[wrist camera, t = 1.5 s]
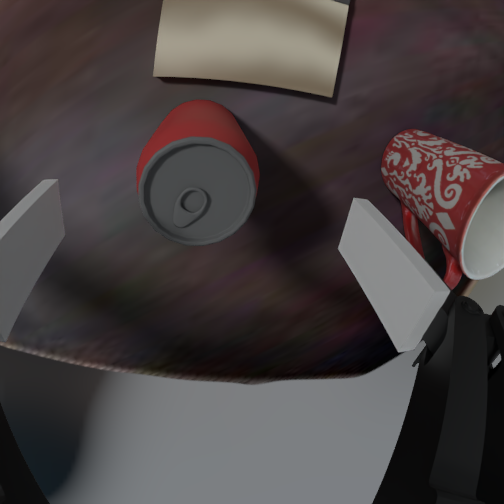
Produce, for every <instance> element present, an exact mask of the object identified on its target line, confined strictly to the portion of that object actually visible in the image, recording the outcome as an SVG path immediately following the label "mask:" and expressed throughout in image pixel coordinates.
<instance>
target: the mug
mask: <svg viewBox="0 0 504 504" xmlns="http://www.w3.org/2000/svg"><path fill="white" fill-rule="evenodd" d="M381 172H382V178H383V180H384V183H385V185H386V186H387V188H388V189H389V190H390V191H391V192H392V193H393V194H394V195H395V196H396V197H397V198H398V199H399V200H400V201H401V206H402V214H403V224H404V231H405V237H406V240H407V241H408V242H409V243H410V244H411V246H412V247H413V248H414V249H415V250H416V251H417V252H418V253H419V254H420V256H421V257H422V258H424V259H425V257H424V254H423V249H422V244H421V239H420V234H419V227H418V219H419V220H420V221H421V222H422V223H423V224H424V225H425V226H426V227H427V228H428V229H429V230H430V231H431V232H432V233H433V234H434V236H435V237H436V238H437V239H438V240H439V241H440V242H441V243H442V249H443V251H444V254H445V257H446V264H447V268H446V274H445V277H444V278H443V280H444V282H445V283H446V284H447V285H448V286H449V288H450V289H451V290H452V289H453V288H455V287H456V285H457V284H458V282H459V280H460V278H461V275H462V272H463V273H464V274H465V275H466V276H467V277H469V278H471V279H476V280H480V279H485V278H488V277H490V276H492V275H494V274H496V273H497V272H499V271H500V270H501V269H502V268H504V164H503V163H501V162H499V161H496V160H494V159H492V158H490V157H488V156H485V155H483V154H481V153H478V152H476V151H474V150H471V149H469V148H466V147H464V146H461V145H459V144H456V143H454V142H451V141H449V140H447V139H443V138H440V137H437V136H435V135H432V134H430V133H427V132H424V131H421V130H417V129H409V130H405V131H402V132H400V133H399V134H397V135H396V136H395V137H394V138H393V139H392V140H391V141H390V142H389V144H388V145H387V147H386V149H385V151H384V154H383V157H382V163H381Z"/></svg>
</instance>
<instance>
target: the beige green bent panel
mask: <svg viewBox="0 0 504 504" xmlns="http://www.w3.org/2000/svg"><path fill="white" fill-rule="evenodd" d="M349 4H350V0H163V6H162V12H161V18H160V25H159V32H158V39H157V46H156V55H155V63H154V73H153V77H187V78H204V79H216V80H227V81H237V82H245V83H253V84H261V85H268V86H274V87H280V88H286V89H292V90H298V91H303V92H308V93H313V94H318V95H322V96H327V97H331V98H332V95H333V90H334V85H335V80H336V75H337V70H338V64H339V59H340V54H341V48H342V43H343V37H344V31H345V25H346V19H347V13H348V7H349Z"/></svg>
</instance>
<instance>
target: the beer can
mask: <svg viewBox="0 0 504 504" xmlns="http://www.w3.org/2000/svg"><path fill="white" fill-rule="evenodd" d="M259 176H260V172H259V167H258V161H257V156H256V154H255V152H254V151H253V149H252V147H251V145H250V144H249V142H248V140H247V138H246V137H245V135H244V133H243V131H242V130H241V128H240V126H239V125H238V123H237V121H236V120H235V118H234V116H233V114H232V113H231V112H230V111H228V110H227V109H226V108H225V107H224V106H222V105H220V104H218V103H215V102H213V101H210V100H193V101H189V102H185V103H183V104H181V105H179V106H178V107H176V108H175V109H173V110H172V111H171V112H170V113H169V114H168V115H167V117H166V118H165V119H164V120H163V122H162V123H161V124H160V126H159V127H158V129H157V130H156V131H155V133H154V134H153V136H152V137H151V139H150V140H149V141H148V143H147V144H146V146H145V147H144V149H143V151H142V153H141V156H140V159H139V162H138V165H137V192H138V195H139V204H140V207H141V209H142V212H143V215H144V217H145V219H146V220H147V221H148V223H149V224H150V225H151V226H152V227H153V229H154V230H155V231H156V232H158V233H159V234H161V235H162V236H164V237H165V238H167V239H168V240H170V241H174V242H177V243H180V244H183V245H192V246H204V245H209V244H213V243H217V242H220V241H222V240H224V239H226V238H228V237H229V236H231V235H233V234H235V233H236V232H237V231H238V230H239V229H240V228H241V227H242V226H243V225H244V224H245V223H246V222H247V220H248V218H249V216H250V214H251V212H252V210H253V208H254V205H255V198H256V196H257V190H258V183H259Z"/></svg>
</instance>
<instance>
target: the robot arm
mask: <svg viewBox="0 0 504 504" xmlns="http://www.w3.org/2000/svg"><path fill="white" fill-rule="evenodd" d="M64 236H65V229H64V222H63V216H62V208H61V201H60V193H59V183H58V179H49V180H43V181H42V182H41V183H39V184H38V185H37V186H36V187H35V188H34V189H33V190H32V191H31V192H30V193H28V194H27V195H26V196H25V197H24V198H23V199H22V200H21V201H20V202H19V203H18V204H17V205H16V206H15V207H14V208H13V209H12V210H11V211H10V212H9V213H8V214H7V215H6V216H5V217H4V218H3V219H2V220H1V221H0V341H2V342H6V340H7V338H8V336H9V334H10V332H11V329H12V327H13V325H14V323H15V321H16V319H17V317H18V315H19V313H20V311H21V309H22V307H23V305H24V304H25V302H26V300H27V298H28V296H29V294H30V292H31V291H32V289H33V287H34V285H35V284H36V282H37V280H38V278H39V277H40V275H41V273H42V271H43V270H44V268H45V266H46V265H47V263H48V261H49V260H50V258H51V257H52V255H53V253H54V252H55V250H56V249H57V247H58V246H59V244H60V242H61V241H62V239H63V238H64ZM338 250H339V251H340V253H341V254H342V256H343V258H344V259H345V261H346V262H347V264H348V266H349V267H350V269H351V271H352V272H353V274H354V276H355V277H356V279H357V281H358V282H359V284H360V286H361V287H362V289H363V291H364V292H365V294H366V296H367V297H368V299H369V301H370V303H371V304H372V306H373V308H374V309H375V311H376V313H377V315H378V316H379V318H380V320H381V322H382V324H383V325H384V327H385V329H386V331H387V333H388V334H389V336H390V338H391V340H392V342H393V343H394V345H395V347H396V349H397V351H398V352H404V351H410V350H414V349H415V348H416V346H417V345H418V343H419V342H420V340H421V339H422V338H423V340H424V341H425V343H426V346H425V347H424V349H423V350H422V352H421V353H420V355H419V356H418V357H417V359H416V360H415V361H414V363H413V365H412V366H413V367H415V365H416V364H417V363H419V367H418V371H417V375H416V380H415V383H414V387H413V391H412V395H411V398H410V402H409V406H408V409H407V412H406V416H405V419H404V422H403V426H402V429H401V432H400V435H399V438H398V441H397V444H396V447H395V449H394V452H393V455H392V457H391V460H390V463H389V465H388V468H387V471H386V473H385V476H384V478H383V481H382V483H381V485H380V487H379V490H378V492H377V494H376V496H375V499H374V501H373V503H372V504H504V306H502V305H499V306H497V307H496V308H495V310H494V312H493V313H492V315H488V314H484V312H483V310H482V308H481V307H480V306H479V305H478V304H477V303H476V302H475V301H473V300H472V299H470V298H468V297H465V296H458V297H457V296H456V295H455V294H454V293H453V291H452V290H451V289H450V288H449V286H448V285H447V284H446V283H445V282H444V280H443V279H442V278H441V277H439V274H438V273H437V272H436V271H435V270H433V267H432V266H431V265H430V264H429V263H428V262H427V261H426V260H425V259H424V258H422V257H421V256H420V254H419V253H418V252H417V251H416V250H415V249H414V248H413V247H412V246H411V244H410V243H409V242H408V241H407V240H406V239H405V238H404V237H403V236H402V235H401V234H400V232H399V231H398V230H397V229H396V228H395V227H394V226H393V225H392V224H391V223H390V222H389V221H388V220H387V219H386V218H385V217H384V216H383V215H382V214H381V213H380V212H379V211H378V210H377V209H376V208H375V207H374V206H373V205H372V204H371V203H370V202H369V201H368V200H366V199H358V198H353V202H352V205H351V208H350V212H349V215H348V218H347V222H346V225H345V228H344V231H343V234H342V238H341V241H340V244H339V247H338ZM499 354H501V361H500V362H499V363H498V365H497V366H496V367H495V368H494V369H493V367H492V362H493V361H494V360H495V359H496V358H497V356H498V355H499ZM0 504H50V503H49V502H48V500H47V499H46V497H45V495H44V494H43V492H42V490H41V489H40V487H39V485H38V483H37V482H36V480H35V478H34V476H33V474H32V473H31V471H30V469H29V467H28V465H27V463H26V461H25V459H24V457H23V455H22V453H21V451H20V449H19V447H18V445H17V442H16V440H15V438H14V436H13V433H12V431H11V429H10V427H9V424H8V421H7V419H6V416H5V414H4V411H3V409H2V406H1V403H0Z"/></svg>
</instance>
